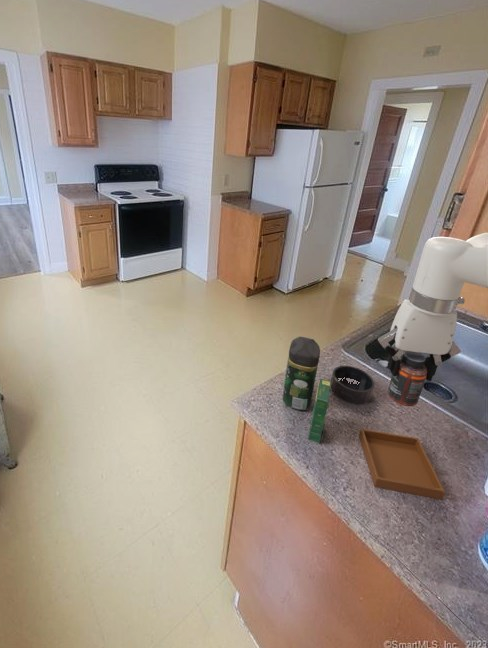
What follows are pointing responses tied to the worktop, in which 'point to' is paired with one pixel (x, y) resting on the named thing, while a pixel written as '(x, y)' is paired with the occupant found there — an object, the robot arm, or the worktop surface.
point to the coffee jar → (301, 373)
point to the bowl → (352, 385)
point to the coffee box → (319, 410)
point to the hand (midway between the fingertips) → (409, 373)
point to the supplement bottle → (408, 379)
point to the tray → (399, 464)
